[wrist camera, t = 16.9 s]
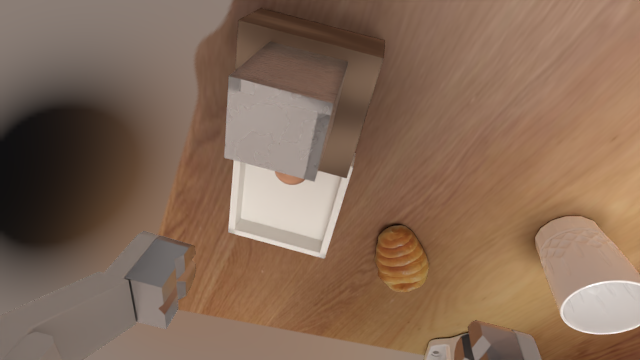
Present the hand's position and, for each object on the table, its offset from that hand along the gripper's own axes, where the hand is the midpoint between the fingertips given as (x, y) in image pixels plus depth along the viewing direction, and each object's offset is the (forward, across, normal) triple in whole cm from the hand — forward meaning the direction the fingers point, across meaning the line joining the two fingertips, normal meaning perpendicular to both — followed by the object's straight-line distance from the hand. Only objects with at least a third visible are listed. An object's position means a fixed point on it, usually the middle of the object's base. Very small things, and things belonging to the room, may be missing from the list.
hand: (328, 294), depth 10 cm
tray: (+29, +6, +19) cm, 35 cm away
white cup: (+29, -27, +16) cm, 43 cm away
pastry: (+29, -10, +25) cm, 40 cm away
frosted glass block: (+23, +5, +3) cm, 23 cm away
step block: (+29, +5, +5) cm, 30 cm away
